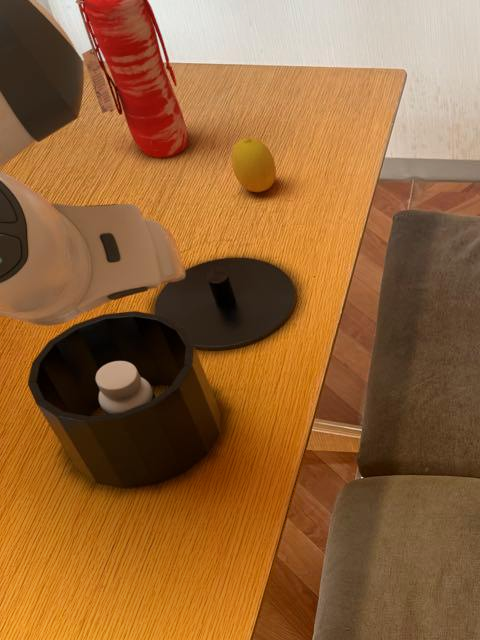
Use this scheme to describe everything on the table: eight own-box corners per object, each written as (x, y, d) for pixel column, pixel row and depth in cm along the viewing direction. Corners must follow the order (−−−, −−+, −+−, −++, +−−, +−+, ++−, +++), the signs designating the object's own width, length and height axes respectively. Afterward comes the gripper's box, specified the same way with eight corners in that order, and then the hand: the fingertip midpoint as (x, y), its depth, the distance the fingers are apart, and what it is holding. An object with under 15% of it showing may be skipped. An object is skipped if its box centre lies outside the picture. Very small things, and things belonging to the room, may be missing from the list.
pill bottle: (155, 456, 95) (128, 399, 87) (109, 446, 95) (78, 389, 88) (177, 419, 98) (152, 361, 90) (132, 410, 98) (103, 351, 91)
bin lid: (153, 362, 104) (138, 330, 100) (161, 272, 113) (149, 240, 109) (298, 346, 106) (290, 314, 102) (295, 259, 115) (287, 227, 111)
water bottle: (107, 166, 127) (27, -27, 106) (119, 136, 131) (45, -55, 111) (193, 165, 127) (130, -28, 107) (202, 134, 132) (143, -56, 112)
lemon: (256, 177, 126) (242, 122, 119) (289, 187, 124) (276, 133, 118) (232, 197, 123) (216, 142, 116) (265, 208, 121) (250, 153, 115)
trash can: (64, 500, 92) (17, 430, 83) (81, 393, 101) (41, 320, 92) (219, 480, 93) (189, 410, 85) (223, 377, 102) (196, 304, 94)
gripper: (-98, 335, 67) (-33, 349, 80) (180, 279, 72) (199, 301, 85) (-129, 250, 66) (-58, 278, 79) (156, 199, 70) (178, 233, 84)
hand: (77, 290), depth 82 cm, fingers open, 8 cm apart
